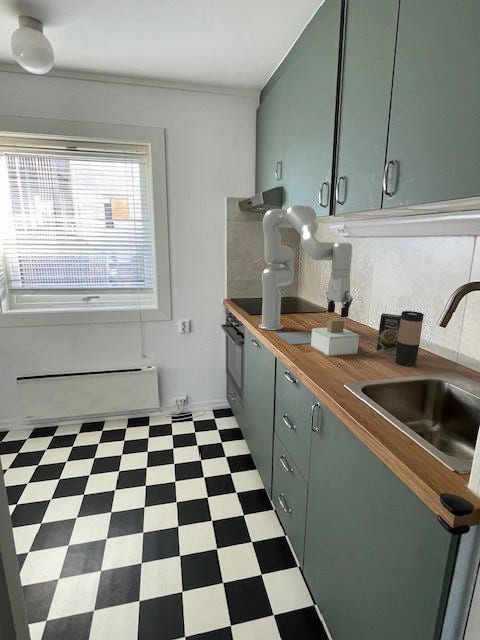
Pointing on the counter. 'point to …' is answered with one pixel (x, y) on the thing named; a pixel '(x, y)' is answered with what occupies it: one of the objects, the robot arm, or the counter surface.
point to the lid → (335, 330)
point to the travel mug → (409, 338)
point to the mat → (296, 337)
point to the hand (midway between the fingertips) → (337, 314)
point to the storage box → (334, 345)
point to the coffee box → (388, 334)
